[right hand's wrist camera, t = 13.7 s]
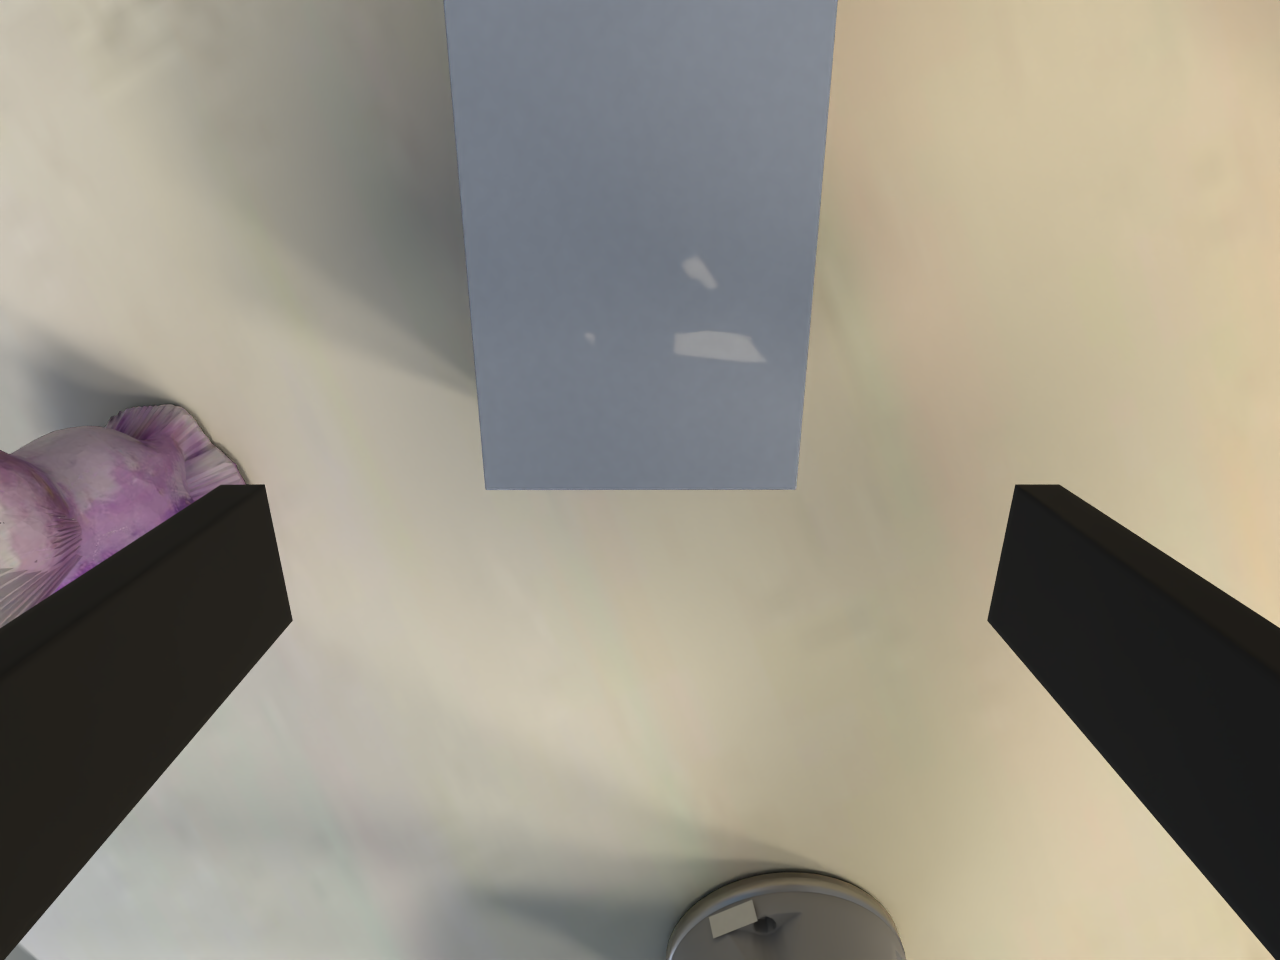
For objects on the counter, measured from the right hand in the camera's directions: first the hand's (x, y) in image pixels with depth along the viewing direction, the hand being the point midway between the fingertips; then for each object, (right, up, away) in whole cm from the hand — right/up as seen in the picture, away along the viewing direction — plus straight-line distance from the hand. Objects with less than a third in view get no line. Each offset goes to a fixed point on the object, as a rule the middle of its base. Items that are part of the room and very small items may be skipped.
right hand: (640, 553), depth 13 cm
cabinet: (0, +14, +17) cm, 22 cm away
